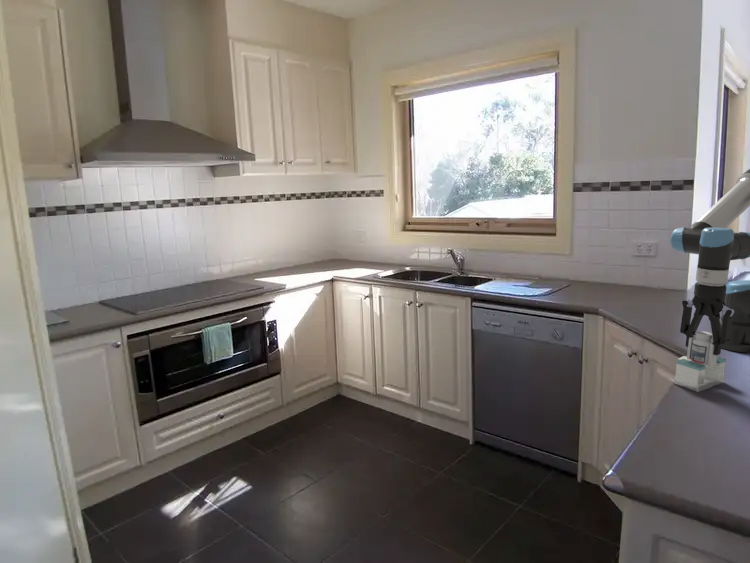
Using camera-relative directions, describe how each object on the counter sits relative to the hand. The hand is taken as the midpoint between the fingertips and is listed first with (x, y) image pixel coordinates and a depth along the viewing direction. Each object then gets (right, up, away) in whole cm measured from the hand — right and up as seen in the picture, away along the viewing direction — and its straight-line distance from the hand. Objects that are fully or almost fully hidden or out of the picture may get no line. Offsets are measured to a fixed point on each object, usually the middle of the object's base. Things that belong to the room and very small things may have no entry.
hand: (701, 361), depth 151 cm
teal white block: (0, -7, +2) cm, 7 cm away
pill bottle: (0, -1, 0) cm, 0 cm away
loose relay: (+2, -5, +10) cm, 11 cm away
